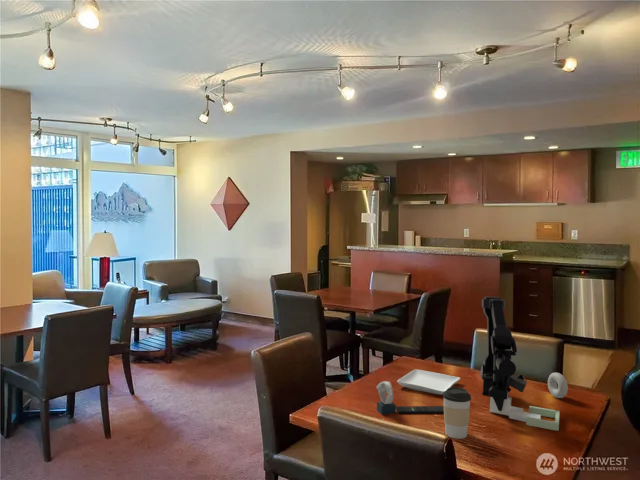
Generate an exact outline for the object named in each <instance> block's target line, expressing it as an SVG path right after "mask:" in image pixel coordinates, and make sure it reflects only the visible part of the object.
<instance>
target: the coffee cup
mask: <svg viewBox="0 0 640 480" xmlns="http://www.w3.org/2000/svg"><path fill="white" fill-rule="evenodd" d="M442 398H443V404H442V406H444V414H443V419H444V428H445V429H444V431H445V435H446V436H447V435H448V436H447V437H449V438H452V439H458V440H461V439H465V438H467V436H468V429H469V423H470V412H471V400H472V395H471V393H469V391H468V390H467V389H466V388H461V387H454V386H452V387H451V388H448V389H447V390H446V391H444V392H443V394H442Z"/></svg>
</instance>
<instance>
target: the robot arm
mask: <svg viewBox="0 0 640 480" xmlns="http://www.w3.org/2000/svg"><path fill="white" fill-rule="evenodd" d="M481 308H482V310H483V314H484V315H485V317H486V320H487V321H486V323H487V324H486V325H487V326H486V328H487V329H486V331H487V333H486V339H487V341H486V348H487V349H486V354H485V357H484V358H483V361H482V364H481V366H480V371H479V372H480V378H481V380H483V381H482V382H483V383H482V392H481V393H482V394H481V395H484V396H488V397H489V398H490V397H493V399H494V401H495V403H496V406H497V408H498V410H499V411H502V408H503V403H504V399H507V398H508V397H510V394H509V393H510V392H511V391H512V389H515V390H517V391H519V392H520V393H524V390H525V388H526V386H527V383H528V381H527V380H526V379H525V375H523V374H522V373H519V374H517V375H516V374H515V373H516V370H517V367H516V364H515V362H514V361H513V359H512V357H514V356H517V351H518V350H517V343H516V340H515V337H513V335H512V330H510V329H509V328H508V327H507V323H506V318H505V317H506V316H505V311H504V310H505V309H506V300H505V299H502V297H500V296H484V298H482V299H481ZM514 374H515V375H514ZM510 387H511V388H510Z"/></svg>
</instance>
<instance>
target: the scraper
mask: <svg viewBox="0 0 640 480" xmlns="http://www.w3.org/2000/svg"><path fill="white" fill-rule="evenodd" d="M489 399H490V400H489V412H490V413H493V414H497V415H498V414H499V415H504V416H507V417H508V419H511V420H516V421H521V417H522V413H523V412H524V408H523V407H517V406H512V397H511V396H508V398H507V399H504V403H503V408H502V411H499V410H498V408H497V406H496V403H495V401H494V399H493V397H489ZM521 422H522V421H521Z"/></svg>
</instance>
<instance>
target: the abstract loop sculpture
mask: <svg viewBox="0 0 640 480" xmlns="http://www.w3.org/2000/svg"><path fill="white" fill-rule="evenodd" d="M392 385H393V384H392V383H391V382H390V381H386V380H384V381H381V382H379V383H378V384H377V386H376V389H377V391H378V394H379V397H380V401H376V411H377V412H378V413H379V414H380V415H391V414H395V413H396V406H397V405H396V404H395V403H394V402H393V400H394V388H393V386H392Z"/></svg>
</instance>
